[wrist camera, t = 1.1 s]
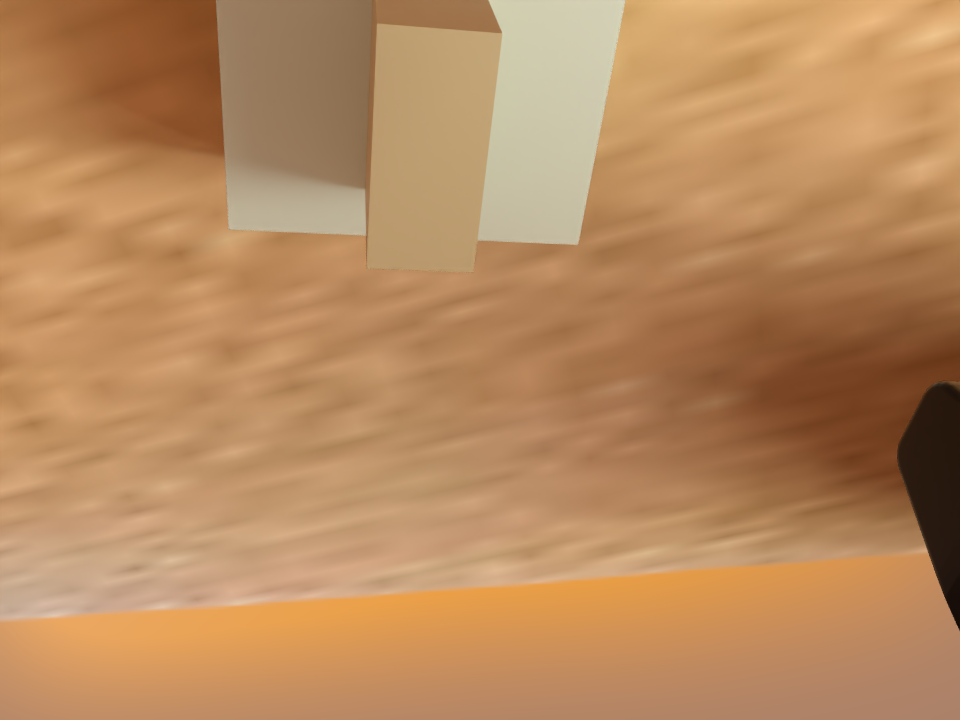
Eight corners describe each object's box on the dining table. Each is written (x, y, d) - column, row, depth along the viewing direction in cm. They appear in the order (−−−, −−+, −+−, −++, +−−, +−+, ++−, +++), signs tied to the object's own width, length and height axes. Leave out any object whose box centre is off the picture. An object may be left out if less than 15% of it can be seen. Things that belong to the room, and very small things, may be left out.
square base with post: (549, 172, 22) (610, 326, 17) (245, 155, 21) (208, 313, 15) (595, -107, 18) (691, -24, 13) (233, -145, 17) (181, -71, 12)
